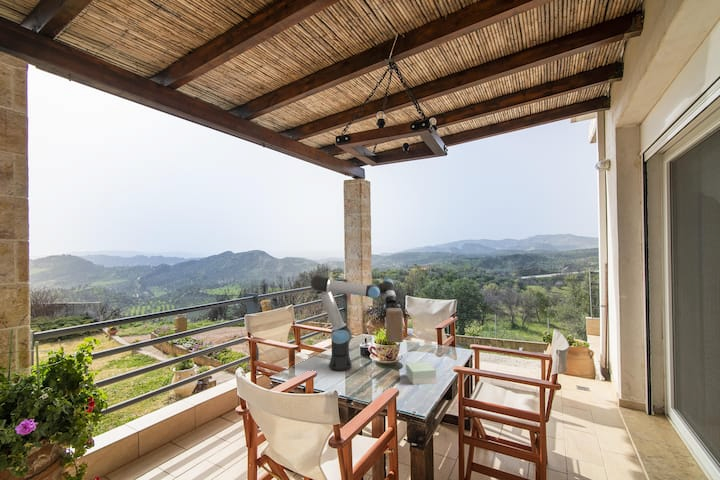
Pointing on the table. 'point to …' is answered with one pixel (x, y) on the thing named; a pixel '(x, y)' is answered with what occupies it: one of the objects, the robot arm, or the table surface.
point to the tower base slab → (421, 380)
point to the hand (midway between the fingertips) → (395, 326)
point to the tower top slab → (420, 370)
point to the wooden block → (394, 325)
